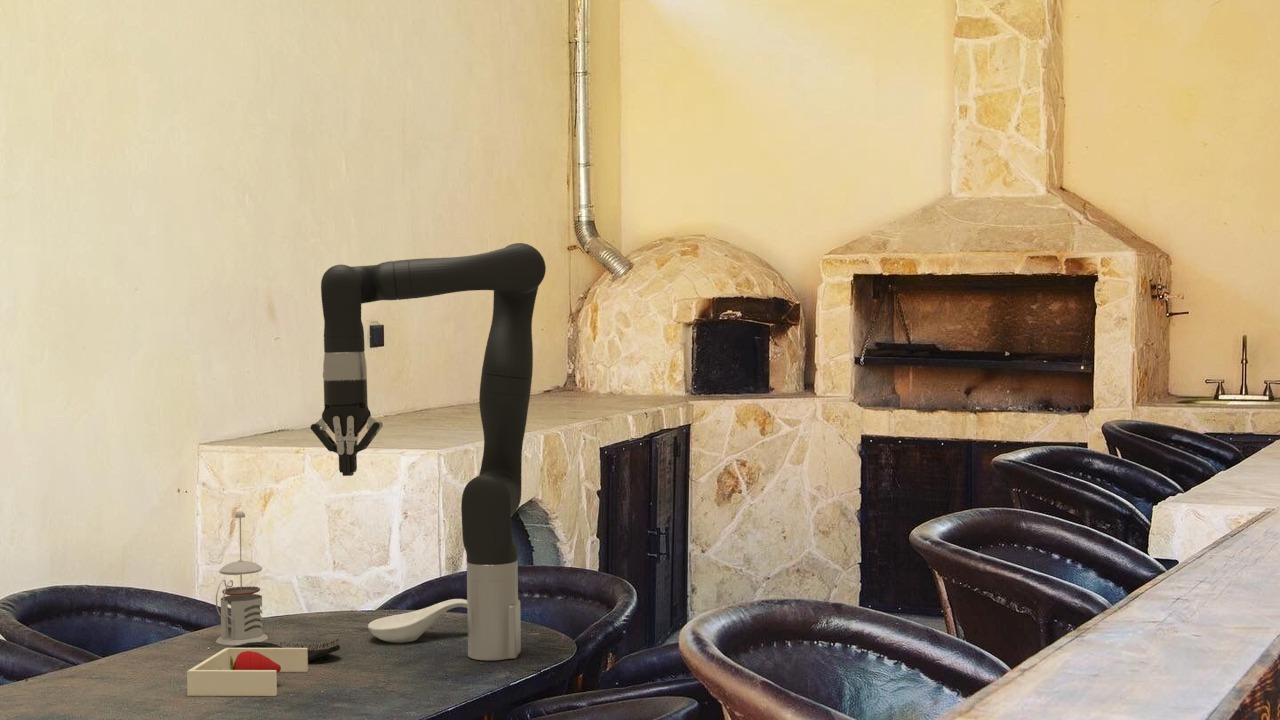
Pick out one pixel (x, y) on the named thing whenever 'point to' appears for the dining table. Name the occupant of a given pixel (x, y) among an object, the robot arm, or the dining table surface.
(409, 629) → the spoon rest
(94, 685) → the dining table surface
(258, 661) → the strawberry
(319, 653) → the hairbrush
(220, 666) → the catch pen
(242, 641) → the french press
